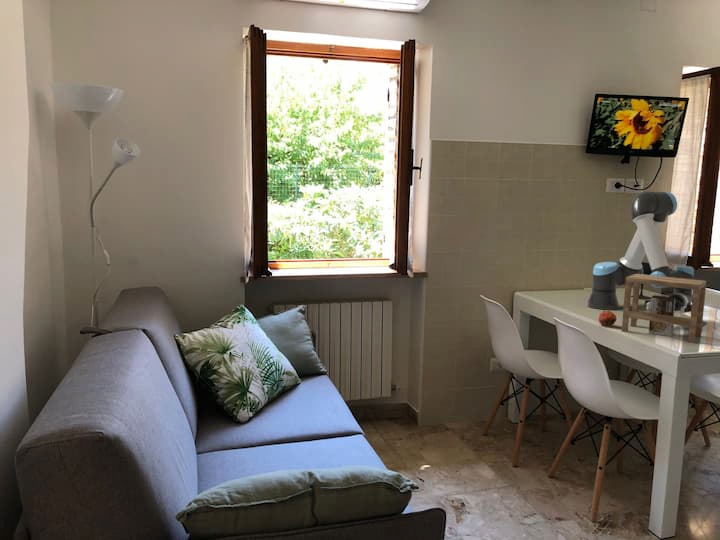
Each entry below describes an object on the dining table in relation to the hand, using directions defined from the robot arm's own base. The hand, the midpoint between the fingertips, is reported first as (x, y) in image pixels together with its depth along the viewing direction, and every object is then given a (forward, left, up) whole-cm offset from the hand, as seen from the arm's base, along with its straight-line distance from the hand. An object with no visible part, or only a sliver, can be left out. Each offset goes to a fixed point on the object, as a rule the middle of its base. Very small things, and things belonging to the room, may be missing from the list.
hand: (664, 308), depth 251 cm
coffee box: (0, -3, -11) cm, 11 cm away
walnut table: (0, -3, -10) cm, 11 cm away
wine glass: (-15, +83, -11) cm, 85 cm away
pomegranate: (-22, -1, -11) cm, 25 cm away
